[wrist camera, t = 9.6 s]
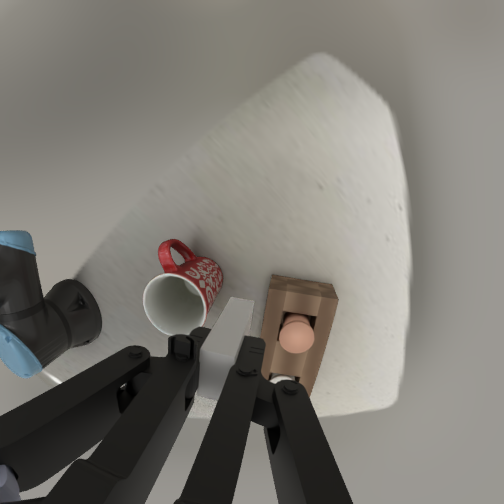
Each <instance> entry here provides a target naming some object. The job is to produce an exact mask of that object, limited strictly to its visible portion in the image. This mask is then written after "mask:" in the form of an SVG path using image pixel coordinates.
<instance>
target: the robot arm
mask: <svg viewBox="0 0 504 504" xmlns="http://www.w3.org/2000/svg"><path fill="white" fill-rule="evenodd" d="M35 256H36V253H35V252H34V247H33V241H32V237H31V235H30V234H29V233H28V232H26V231H20V230H16V231H0V358H1V360H2V361H3V363H4V364H5V365H6V366H7V367H8V368H9V369H10V370H11V371H12V372H13V373H14V374H16V375H18V376H19V377H22V378H30V377H32V376H33V375H35V374H37V373H38V372H41V371H42V369H44V368H45V367H46V366H47V365H49V364H50V363H51V362H53V361H54V360H55V359H56V358H58V357H59V356H60V355H62V354H63V353H64V352H65V351H67V350H68V349H70V348H74V347H79V346H83V345H87V344H89V343H91V342H92V341H93V340H95V339H96V338H97V337H98V336H99V334H100V331H101V315H100V311H99V308H98V306H97V303H96V301H95V299H94V298H93V296H92V295H91V293H90V292H89V291H88V290H87V289H86V288H85V287H84V286H83V285H82V284H81V283H79V282H77V281H75V280H72V279H66V280H63V281H61V282H59V283H57V284H55V285H54V286H53V288H52V289H51V290H50V291H49V292H48V293H47V294H46V296H45V297H44V298H43V293H42V289H41V284H40V280H39V274H38V269H37V263H36V257H35ZM254 302H255V301H252V300H246V299H241V298H236V297H231V298H230V299H229V301H228V303H227V304H226V306H225V308H224V309H223V311H222V313H221V315H220V316H219V318H218V320H217V321H216V323H215V325H214V326H213V328H212V329H209V328H204V327H200V326H199V327H197V328H195V329H193V330H192V331H191V332H190V334H189V335H185V334H176V335H172V336H170V337H169V338H168V354H167V356H166V357H152V356H150V352H149V350H147V349H146V348H145V347H142V346H136V345H134V346H128V347H126V348H124V349H122V350H120V351H118V352H117V353H115V354H113V355H111V356H110V357H108V358H106V359H104V360H103V361H101V362H99V363H97V364H95V365H94V366H92V367H90V368H88V369H86V370H85V371H83V372H81V373H79V374H77V375H76V376H74V377H72V378H70V379H68V380H67V381H65V382H63V383H61V384H59V385H57V386H56V387H54V388H52V389H50V390H48V391H47V392H45V393H43V394H41V395H39V396H37V397H35V398H33V399H32V400H30V401H28V402H26V403H24V404H22V405H21V406H19V407H17V408H15V409H13V410H11V411H9V412H7V413H5V414H3V415H2V416H0V504H145V502H146V500H147V498H148V495H149V494H150V492H151V490H152V488H153V486H154V484H155V482H156V479H157V478H158V476H159V473H160V471H161V469H162V467H163V465H164V463H165V461H166V459H167V457H168V455H169V453H170V451H171V449H172V447H173V445H174V443H175V441H176V439H177V436H178V434H179V432H180V430H181V428H182V426H183V424H184V422H185V420H186V418H187V416H188V414H189V412H190V409H191V407H192V405H193V403H194V396H195V392H196V390H197V396H201V397H205V398H209V399H213V400H217V401H218V402H217V405H216V407H215V410H214V413H213V415H212V418H211V420H210V424H209V426H208V428H207V431H206V433H205V436H204V439H203V441H202V444H201V446H200V449H199V452H198V454H197V456H196V459H195V462H194V464H193V466H192V469H191V471H190V474H189V476H188V479H187V481H186V484H185V487H184V489H183V492H182V494H181V496H180V498H179V499H177V500H176V501H175V502H174V504H232V501H233V496H234V492H235V488H236V484H237V480H238V476H239V472H240V467H241V463H242V459H243V454H244V450H245V445H246V441H247V436H248V432H249V427H250V422H251V421H252V422H255V423H257V424H259V425H262V426H264V434H265V439H266V444H267V449H268V454H269V459H270V464H271V469H272V474H273V479H274V484H275V489H276V493H277V498H278V503H279V504H353V502H352V500H351V497H350V495H349V492H348V490H347V488H346V485H345V483H344V480H343V478H342V476H341V473H340V471H339V468H338V466H337V464H336V461H335V459H334V456H333V454H332V451H331V449H330V447H329V444H328V442H327V440H326V437H325V435H324V432H323V430H322V427H321V425H320V423H319V420H318V418H317V415H316V413H315V410H314V408H313V406H312V403H311V401H310V398H309V396H308V393H307V391H306V389H305V387H304V386H303V385H302V384H301V383H299V382H297V381H294V380H288V379H286V380H281V381H278V382H277V383H276V384H275V383H272V382H270V381H268V380H267V379H265V378H264V377H263V376H262V373H261V368H262V363H263V358H264V352H265V347H266V343H265V341H264V339H262V338H257V337H251V336H249V333H250V327H251V321H252V314H253V308H254ZM123 384H125V386H123V387H121V386H122V385H123ZM120 387H121V388H120ZM102 439H103V440H102ZM101 440H102V442H101V443H100V444H99V446H98V447H97V448H96V449H95V451H94V452H93V453H92V455H91V456H90V457H89V458H88V459H86V460H84V459H77V458H78V457H80V456H81V455H82V454H84V453H85V452H86V451H88V450H89V449H90V448H92V447H93V446H94V445H96V444H97V443H98V442H100V441H101ZM76 459H77V460H76ZM74 460H76V461H74ZM73 461H74V462H73ZM72 462H73V463H72ZM70 463H72V464H71V466H70V467H69V468H68V469H67V471H66V472H65V473H64V474H63V476H62V477H61V478H60V480H59V481H58V482H57V484H56V485H55V486H54V487H53V489H52V490H51V491H50V492H49V494H48V495H47V496H46V497H41V498H35V499H28V500H21V498H20V495H19V492H22V491H27V490H29V489H32V488H34V487H36V486H38V485H40V484H41V483H43V482H45V481H46V480H48V479H49V478H51V477H52V476H53V475H55V474H56V473H58V472H59V471H60V470H62V469H63V468H65V467H66V466H67V465H69V464H70Z"/></svg>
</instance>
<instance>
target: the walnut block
mask: <svg viewBox="0 0 504 504" xmlns="http://www.w3.org/2000/svg"><path fill="white" fill-rule="evenodd" d="M338 300H339V299H338V297H337V295H336V292H335V290H334V288H333V285H332V284H326V283H319V282H313V281H307V280H301V279H295V278H289V277H283V276H278V275H272V278H271V282H270V286H269V291H268V297H267V302H266V308H265V314H264V319H263V325H262V331H261V336H260V338H262V339H264V341H265V343H266V347H265V352H264V358H263V363H262V368H261V373H262V376H263V377H264V378H265V379H267V380H268V381H269V380H270V379H271V375H272V373H278V374H284V375H291V376H295V381H297V382H299V383H301V384H302V385H303V386H304V387H305V389H306V391H307V393H308V396H309V397H310V395H311V392H312V389H313V386H314V383H315V380H316V377H317V374H318V371H319V367H320V364H321V361H322V358H323V354H324V351H325V348H326V344H327V341H328V337H329V334H330V330H331V327H332V323H333V319H334V316H335V312H336V308H337V304H338ZM286 312H293V313H299V314H306V315H309V322H310V326H311V327H312V329H313V332H314V342H313V345H312V346H311V347H310V348H309V349H308V350H307V351H305V352H302V353H290V352H288V351H286V350H285V349H283V347H282V346H281V344H280V341H279V335H280V331H281V329H282V327H283V321H284V315H285V313H286Z"/></svg>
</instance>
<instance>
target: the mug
mask: <svg viewBox="0 0 504 504" xmlns="http://www.w3.org/2000/svg"><path fill="white" fill-rule="evenodd" d="M170 247H172V248H174V249H175V250H176V251H177V252H178V253H180V254H181V255H182V256H183V258H184V259H185V263H183V264H181V265H176V264H175V262H174V261H173V259H172V256H171V252H170ZM158 256H159V260H160V263H161V265H162V267H163V269H164V271H165V273H164V274H160V275H158V276H156V277H154V278H153V279H152V280H151V281H150V282H149V283H148V284H147V286H146V288H145V290H144V294H143V306H144V310H145V313H146V315H147V317H148V319H149V320H150V322H151V323H152V324H153V325H154V326H155V327H156V328H157V329H158V330H160V331H161V332H163V333H165V334H167V335H169V336H172V335H176V334H185V335H189V334H190V332H191V331H192V330H193V329H195V328H197V327H199V326H200V327H202V326H203V325H204V323H205V321H206V317H207V314H208V312H209V310H210V308H211V306H212V304H213V302H214V300H215V298H216V296H217V294H218V292H219V291H220V289H221V287H222V283H223V275H222V272H221V269H220V268H219V266H218V265H217V264H216V263H215V262H214V261H213V260H211V259H209V258H207V257H196V256H195V255H194V254H193V252H192V251H191V250H190V249H189V248H188V247H187V246H186V245H185V244H183V243H182V242H181V241H179V240H177V239H170V240H167V241H165V242H163V243H162V244H161V245H160V246H159V249H158Z"/></svg>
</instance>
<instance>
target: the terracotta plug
mask: <svg viewBox="0 0 504 504" xmlns="http://www.w3.org/2000/svg"><path fill="white" fill-rule="evenodd" d="M279 341H280V344H281V346H282V347H283V349H285V350H286V351H288V352H290V353H302V352H305V351H307V350H308V349H309V348H310V347H311V346H312V345H313V342H314V332H313V329H312V327H311V326H310V322H309V315H306V314H299V313H293V312H286V313H285V315H284V321H283V327H282V329H281V331H280V335H279Z"/></svg>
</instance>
